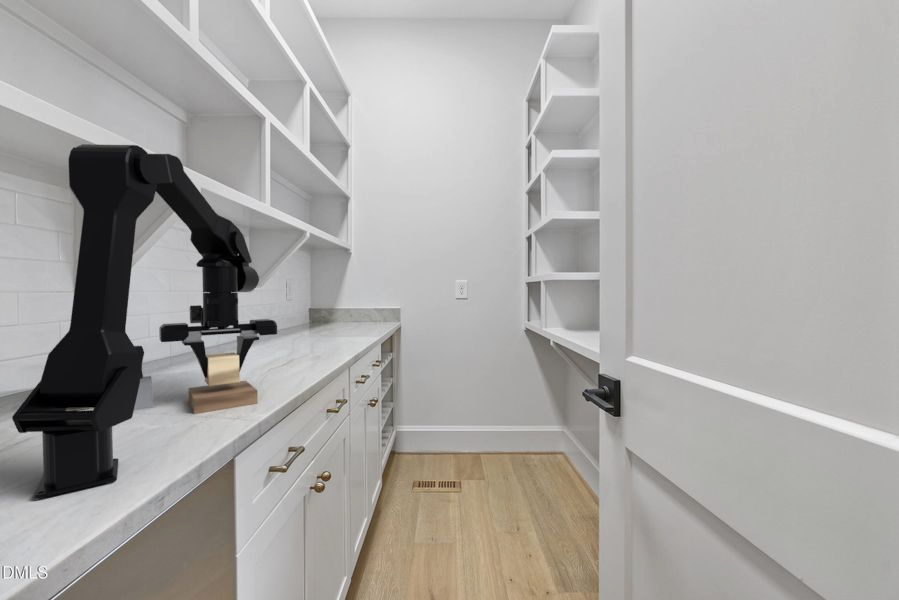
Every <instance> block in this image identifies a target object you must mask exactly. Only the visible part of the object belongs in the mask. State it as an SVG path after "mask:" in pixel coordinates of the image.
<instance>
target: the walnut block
mask: <svg viewBox="0 0 899 600" xmlns="http://www.w3.org/2000/svg"><path fill="white" fill-rule="evenodd" d="M187 389H188V393H187V394H188V404H189V405H190V408H191V410H192V412H193V414H194V415H198V414H204V413H211V412H216V411H223V410H228V409H234V408H240V407H247V406H253V405H258V389H256V387H254V386H253V385H252V384H250V383H249V382H248V381H247V380H242V381H240V382H236V383H229V384H221V385H214V386H208V385H202V386H196V387H188V388H187Z"/></svg>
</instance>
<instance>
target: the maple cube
mask: <svg viewBox="0 0 899 600" xmlns="http://www.w3.org/2000/svg"><path fill="white" fill-rule="evenodd" d="M236 353H237V352H223V353H212V354H211V353H210V354H206V360H207V377H206V378H205V377H204V382H205V383H206V385H207V386H214V385H221V384H229V383H236V382H240V374H241V373H240V372H239V355H237V354H236Z"/></svg>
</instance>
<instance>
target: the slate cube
mask: <svg viewBox="0 0 899 600" xmlns="http://www.w3.org/2000/svg"><path fill="white" fill-rule="evenodd" d="M153 402H154V401H153V379H152V375H150V376H149V375H148V376H143V378H142V379H140V385H139V389H138V394H137V398H136V403H135V407H134V411H140V410H145V409H152V408H153V405H154V403H153Z"/></svg>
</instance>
